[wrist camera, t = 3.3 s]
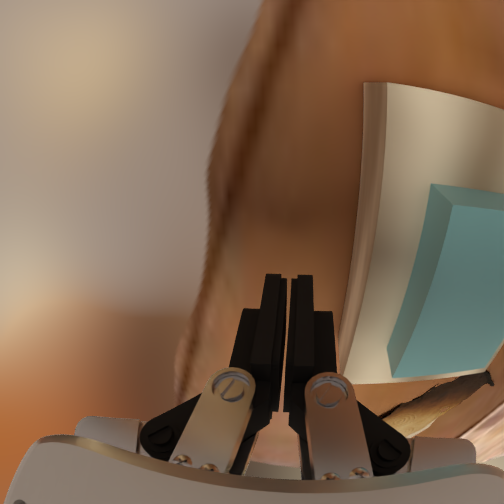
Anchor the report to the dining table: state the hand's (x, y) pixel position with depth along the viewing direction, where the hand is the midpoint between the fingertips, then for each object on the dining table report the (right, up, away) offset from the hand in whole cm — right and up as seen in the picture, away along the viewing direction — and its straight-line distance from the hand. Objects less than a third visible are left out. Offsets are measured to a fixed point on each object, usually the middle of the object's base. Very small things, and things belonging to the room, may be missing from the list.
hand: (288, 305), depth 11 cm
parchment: (+15, -18, +16) cm, 29 cm away
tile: (+8, +1, 0) cm, 8 cm away
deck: (+10, +3, +3) cm, 11 cm away
